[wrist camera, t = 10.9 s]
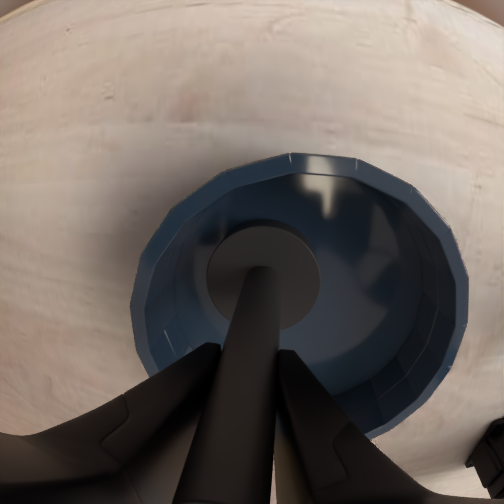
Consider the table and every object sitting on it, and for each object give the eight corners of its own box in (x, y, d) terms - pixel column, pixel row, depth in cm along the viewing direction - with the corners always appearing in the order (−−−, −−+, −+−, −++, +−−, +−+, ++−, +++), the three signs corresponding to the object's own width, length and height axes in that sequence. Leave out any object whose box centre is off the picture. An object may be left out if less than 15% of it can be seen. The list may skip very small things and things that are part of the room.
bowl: (446, 174, 14) (496, 182, 9) (394, 401, 18) (411, 449, 13) (163, 153, 15) (120, 152, 10) (176, 389, 19) (154, 437, 14)
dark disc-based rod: (323, 223, 14) (433, 438, 3) (310, 321, 16) (332, 560, 4) (214, 215, 15) (31, 384, 3) (212, 312, 16) (117, 530, 5)
